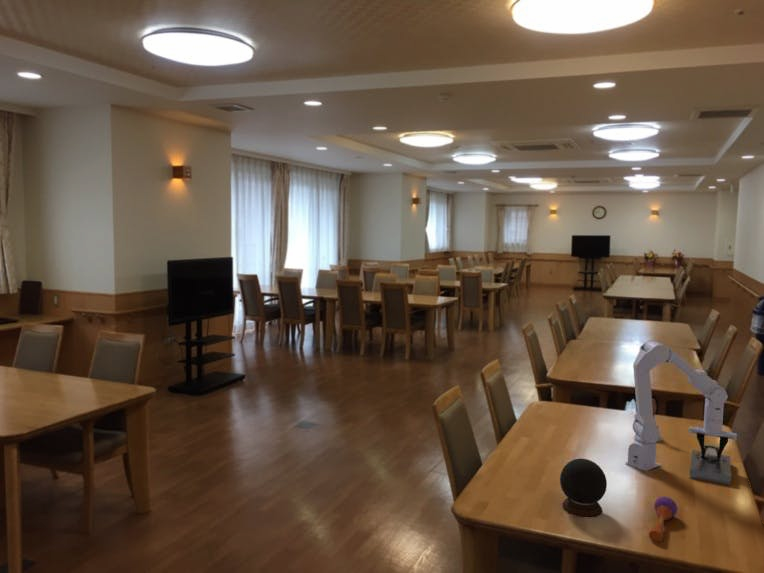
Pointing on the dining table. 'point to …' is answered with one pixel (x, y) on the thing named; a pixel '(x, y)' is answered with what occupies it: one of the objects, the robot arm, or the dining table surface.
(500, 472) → the dining table surface
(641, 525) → the dining table surface
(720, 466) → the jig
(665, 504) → the kendama
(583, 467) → the black ball on stand
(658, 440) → the hand bell
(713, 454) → the bushing
